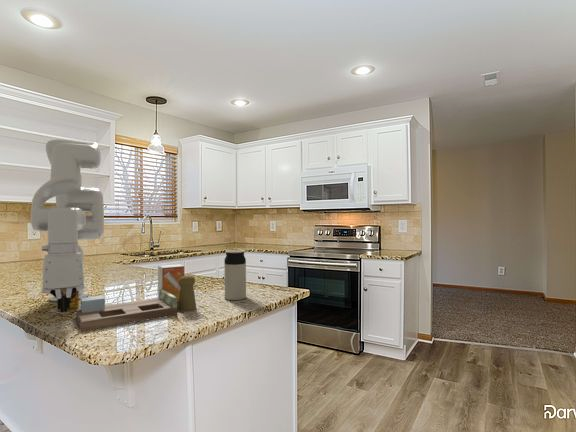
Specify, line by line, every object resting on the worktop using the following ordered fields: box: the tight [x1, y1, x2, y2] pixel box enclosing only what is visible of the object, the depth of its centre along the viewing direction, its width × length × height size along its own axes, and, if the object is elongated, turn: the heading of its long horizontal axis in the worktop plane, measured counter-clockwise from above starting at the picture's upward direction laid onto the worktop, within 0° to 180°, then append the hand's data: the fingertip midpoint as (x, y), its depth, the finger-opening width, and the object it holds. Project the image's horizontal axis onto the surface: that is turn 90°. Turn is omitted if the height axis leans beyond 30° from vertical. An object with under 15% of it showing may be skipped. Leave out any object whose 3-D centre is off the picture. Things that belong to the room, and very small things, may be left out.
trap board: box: [76, 289, 178, 332], centre depth 109 cm, size 16×26×6 cm, turn 125°
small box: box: [157, 263, 185, 303], centre depth 128 cm, size 8×6×13 cm
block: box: [80, 295, 106, 313], centre depth 108 cm, size 5×6×4 cm
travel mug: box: [224, 249, 247, 301], centre depth 132 cm, size 8×8×18 cm
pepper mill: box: [177, 275, 197, 312], centre depth 117 cm, size 6×6×11 cm
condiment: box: [47, 288, 81, 315], centre depth 117 cm, size 7×8×12 cm
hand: (63, 311), depth 103 cm, fingers closed
